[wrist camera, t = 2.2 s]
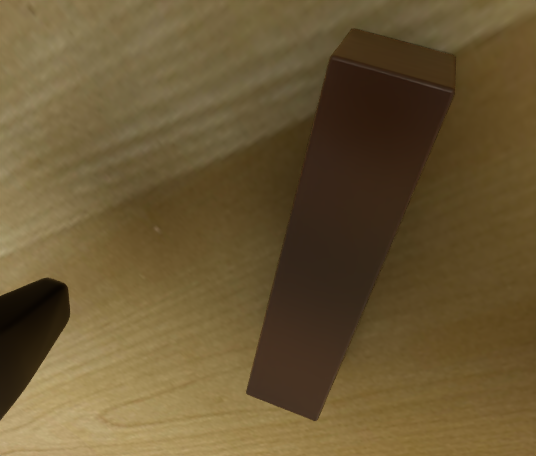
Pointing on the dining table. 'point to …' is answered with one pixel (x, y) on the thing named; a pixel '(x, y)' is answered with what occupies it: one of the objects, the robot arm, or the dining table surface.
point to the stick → (347, 209)
